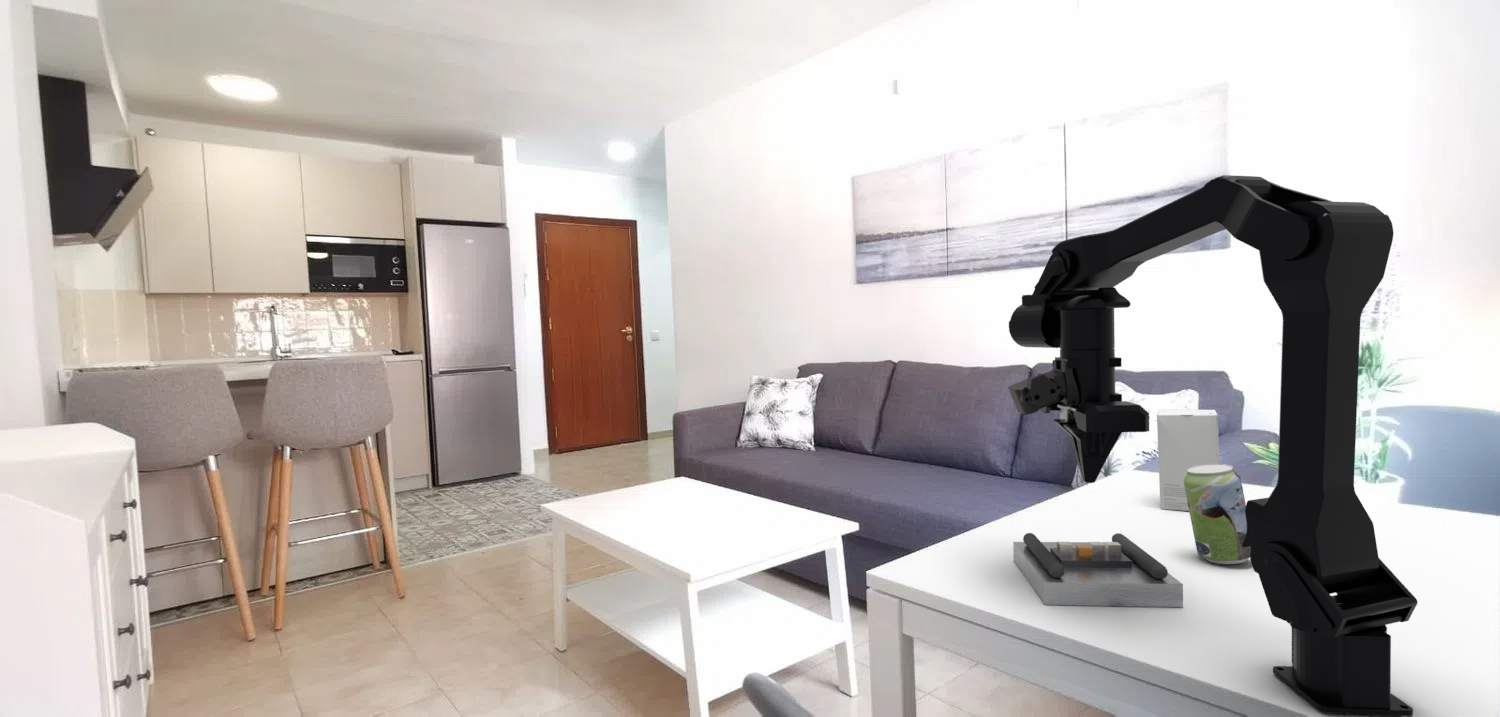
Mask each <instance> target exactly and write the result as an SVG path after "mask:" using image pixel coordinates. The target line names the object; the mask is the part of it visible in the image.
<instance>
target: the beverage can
mask: <svg viewBox="0 0 1500 717" xmlns="http://www.w3.org/2000/svg"><path fill="white" fill-rule="evenodd" d="M1184 486H1185V492H1186V497H1187V502H1188V507H1189V511H1188V512H1189V516H1190V522H1191V526H1192V532H1193V537H1194V543H1195V548H1196V552H1197V554H1198V556H1200V557H1202V558H1203V559H1205V560H1207V561H1208V562H1210V563H1214V564H1219V565H1236V564H1241V563H1245V562H1247V561H1248V560H1250V554H1249V552H1250V547H1243V546H1242V543H1243V541H1244V539H1245V537H1246V532H1247V522H1246V515H1245V508H1246V504H1247V502H1246V499H1245V498H1246V497H1245V494H1244V487H1243V482H1242V478H1241V476H1240V475H1239V474H1238V473H1237V472H1236V471H1235V470H1234V466H1233V465H1230V464H1224V463H1219V464H1206V465H1198V466H1193V467H1190V468H1188V469H1187V474H1186V476H1185V478H1184Z"/></svg>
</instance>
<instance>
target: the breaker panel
mask: <svg viewBox="0 0 1500 717" xmlns="http://www.w3.org/2000/svg"><path fill="white" fill-rule="evenodd" d="M1040 542H1041V543H1042V544H1043V545H1044V546H1045V547H1046V548H1047V549H1048V550H1049V552H1050V553H1051V554H1052V555H1053V556H1054V557H1055V558H1056V559H1057V560H1058V562H1059V563H1060V564H1061V565H1062V566H1063V567H1064V570H1065V572H1064V575H1063V576H1062V577H1060V578H1055V577H1053V576H1052V575H1051V574H1050V573H1049V572H1048V571H1047V570H1046V568H1045V567H1044V566H1043V565H1042V563H1041V562H1040V561H1039V560H1038V559H1037V557H1036V556H1035V555H1034V554H1033V552H1032V551H1031V550H1030V549H1029V548H1028V546H1027V545H1026V544H1025V543H1024V541H1013V542H1012V543H1013V544H1012V547H1013V553H1012V554H1013V562H1014V563H1015V565H1016V566H1017V568H1018V569H1019V570H1020V572H1021V574H1023V577H1024V578H1025V579H1026V580H1027V581H1028V584H1029V585H1030V587H1032V589H1033V590H1034V591H1035V593H1036V594H1037V596H1038V597H1039V599H1040V600H1041V602H1042V603H1043V604H1044V605H1045V606H1085V607H1086V606H1088V607H1089V606H1093V607H1095V606H1096V607H1136V608H1137V607H1143V608H1144V607H1146V608H1147V607H1148V608H1184V587H1183V586H1184V584H1183V583H1182V582H1180V580H1178V579H1177V578H1176V577H1175V576H1173V575H1172V574H1170V573H1169V572H1168V575H1167V577H1166V578H1164V579H1157V578H1155V577H1154V576H1152V575H1151V574H1150V573H1149V572H1147V571H1146V570H1145V569H1144V568H1143V567H1141V566H1140V565H1139V564H1138V563H1136V562H1135V561H1134V560H1133V559H1132V558H1130V557H1129V556H1128V555H1127V554H1125V553H1124V552H1123V551H1122V550H1121V545H1120V544H1119V543H1118V542H1112V541H1104V542H1103V541H1086V542H1084V541H1083V542H1082V541H1080V542H1079V541H1072V542H1071V541H1040Z"/></svg>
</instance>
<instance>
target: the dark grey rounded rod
mask: <svg viewBox="0 0 1500 717" xmlns="http://www.w3.org/2000/svg"><path fill="white" fill-rule="evenodd" d="M1111 542H1118V543H1119V544H1120V545H1121V550H1122V551H1123V552H1124V553H1125V554H1127V555H1128V556H1129V557H1130V558H1132V559H1133V560H1134V561H1135V562H1136V563H1138V564H1139V565H1140V566H1141V567H1143V568H1144V569H1145V570H1146V571H1147V572H1149V573H1150V574H1151V575H1152V576H1154V577H1155V578H1157V579H1164V578H1166V577H1167V575H1168V573H1169V571H1168V569H1167V567H1166V566H1165V565H1164V564H1162V563H1161V562H1160V561H1158V560H1157V559H1156V558H1154V557H1153V556H1152V555H1151V554H1149V553H1148V552H1147V551H1145V550H1143V549H1142V548H1141V547H1140V546H1138V545H1137V544H1136V543H1134V541H1132V540H1131V539H1129V538H1128V537H1127V536H1126V535H1124V534H1123V533H1118V532H1117V533H1114V534H1113V535H1112V537H1111Z"/></svg>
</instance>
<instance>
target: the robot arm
mask: <svg viewBox="0 0 1500 717" xmlns="http://www.w3.org/2000/svg"><path fill="white" fill-rule="evenodd" d="M1225 230H1226V231H1227V232H1228V233H1230V235H1231V236H1232V237H1233V238H1235V239H1236V240H1238V241H1240V242H1241V243H1243V244H1245V245H1248V246H1249V247H1251V248H1254V250H1258V252H1259V259H1260V265H1261V272H1262V279H1263V282H1264V284H1265V285H1266V287H1267V289H1268V291H1269V293H1270V295H1271V296H1272V298H1273V300H1274V302H1275V303H1276V304H1277V306H1278V308H1279V310H1280V313H1281V315H1282V329H1281V330H1282V333H1281V334H1282V336H1281V364H1280V365H1281V367H1280V398H1279V402H1280V403H1279V426H1278V428H1279V431H1278V432H1279V433H1278V457H1277V458H1278V463H1277V480H1276V485H1275V487H1274V489H1273V490H1272V491H1271V493H1270V495H1269V496H1268V497H1263V498H1256V499H1248V500H1247V501H1246V508H1245V515H1246V522H1247V532H1246V537H1245V539H1244V541H1243V543H1242V546H1243V547H1250V552H1249V554H1250V558H1249V560H1250V565H1251V567H1252V569H1253V572H1255V573H1256V574H1258V578H1259V580H1260V583H1261V586H1262V589H1263V592H1264V594H1265V598H1266V600H1267V603H1268V606H1269V610H1270V613H1271V616H1273V617H1275V618H1276V619H1280V620H1282V621H1285V622H1287V624H1289V626H1290V627H1291V665H1292V666H1285V665H1275V666H1273V667H1272V673H1273V674H1274V675H1275V676H1276V677H1277V678H1279V679H1280V680H1281V681H1282V682H1284V683H1285V684H1286V685H1288V686H1289V688H1292V690H1293V691H1295V692H1296V693H1298V694H1299V695H1300V696H1301V697H1302V698H1303V699H1304V700H1306V701H1307V702H1309V704H1310V705H1312V706H1313V707H1314V708H1315V709H1316V710H1318V711H1321V712H1323V713H1328V714H1346V715H1347V714H1348V715H1349V714H1350V715H1351V714H1352V715H1354V714H1355V715H1376V716H1377V715H1379V716H1400V717H1401V716H1406V717H1412V716H1414V708H1413V707H1412V706H1410V705H1409V704H1408V703H1406V702H1405V701H1403V700H1402V699H1400V698H1398V697H1397V696H1396V695H1394V694H1392V693H1391V690H1392V689H1391V687H1392V686H1391V683H1392V682H1391V676H1392V673H1391V671H1392V670H1391V669H1392V667H1391V666H1392V663H1391V662H1392V661H1391V660H1392V658H1391V657H1392V635H1390V634H1389V633H1388V627H1387V625H1391V624H1396V623H1405V622H1408V621H1409V620H1410V618H1411V616H1412V614H1413V612H1414V611H1415V609H1416V607H1417V605H1418V600H1417V598H1416V597H1415V596H1414V595H1413V593H1412V592H1411V591H1409V589H1408V588H1407V587H1406V586H1405V585H1404V584H1403V583H1402V581H1400V579H1399V578H1398V577H1397V576H1396V575H1395V574H1394V572H1392V571H1391V569H1390V568H1389V567H1388V566H1387V565H1386V564H1385V563H1384V562H1383V561H1382V560H1381V559H1380V558H1379V551H1378V545H1377V540H1376V533H1375V528H1374V522H1373V520H1372V519H1371V517H1370V515H1369V514H1368V512H1367V510H1366V509H1365V507H1364V504H1362V502H1361V500H1360V498H1359V496H1358V495H1357V493H1356V490H1355V468H1356V467H1355V466H1356V465H1355V462H1356V439H1357V437H1356V435H1357V434H1356V433H1357V412H1358V411H1357V410H1358V387H1359V367H1360V366H1359V363H1360V361H1359V360H1360V336H1361V317H1362V313H1363V311H1364V309H1365V307H1366V305H1367V304H1368V302H1369V300H1371V297H1372V296H1373V294H1374V293H1375V291H1376V290H1377V288H1378V286H1379V285H1380V284H1381V282H1382V280H1383V279H1384V275H1385V272H1386V268H1387V264H1388V260H1389V256H1390V251H1391V247H1392V244H1393V241H1394V227H1393V222H1392V221H1391V218H1390V217H1389V215H1388V214H1385V213H1384V211H1381V209H1379V208H1378V207H1377V206H1375V205H1372V204H1369V203H1365V202H1364V201H1363V202H1361V201H1360V202H1359V201H1358V202H1357V201H1332V200H1329V199H1326V198H1323V197H1319V196H1316V195H1313V194H1308V193H1304V192H1301V191H1298V190H1294V189H1290V188H1288V187H1284V186H1281V185H1279V184H1276V183H1273V182H1271V181H1269V180H1267V179H1265V178H1263V177H1261V176H1254V175H1252V176H1251V175H1230V174H1229V175H1228V174H1227V175H1225V174H1223V175H1220V176H1217V177H1215V178H1213V179H1211V180H1209V181H1207V182H1206V183H1205V184H1204V185H1203V186H1202V187H1200V188H1198V189H1195V190H1194V191H1192V192H1190V193H1187V194H1186V195H1183V196H1181V197H1179V198H1177V199H1175V200H1173V201H1171V202H1169V203H1166V204H1165V205H1162V206H1161V207H1158V208H1156V209H1154V210H1153V211H1150V212H1148V213H1146V214H1144V215H1142V216H1139V217H1138V218H1136V219H1134V220H1131V221H1129V222H1127V223H1126V224H1123V225H1121V226H1119V227H1117V228H1115V229H1113V230H1109V231H1104V232H1098V233H1092V234H1085V235H1080V236H1076V237H1073V238H1068V239H1065V240H1062V241H1059V242H1058V243H1057V244H1056V245H1054V247H1053V248H1052V250H1051V253H1052V254H1051V255H1050V256H1049V258H1048V260H1047V262H1046V265H1045V267H1044V268H1043V270H1042V273H1041V275H1040V277H1039V280H1038V281H1037V283H1036V285H1035V286H1034V290H1033V292H1032V294H1023V295H1022V296H1021V304H1020V305H1018V307H1016V308H1015V310H1014V311H1013V312H1012V314H1011V316H1010V319H1009V321H1008V332H1009V334H1010V337H1011V338H1012V340H1013V341H1014V343H1016V344H1017V345H1019V346H1021V347H1022V348H1023V347H1024V348H1040V349H1041V348H1044V349H1047V348H1050V349H1051V348H1052V349H1059V356H1058V357H1057V356H1055V357H1054V360H1052V362H1051V363H1052V364H1051V366H1052V370H1050V371H1046V372H1044V373H1037V375H1035V376H1032V377H1030V376H1029V377H1028V378H1026V379H1024V380H1021V381H1018V382H1016V383H1014V384H1013V383H1012V384H1011V385H1009V386H1008V387H1007V389H1008V391H1009V393H1010V396H1011V398H1012V401H1013V403H1014V405H1015V409H1016V410H1017V412H1019V413H1020V412H1021V413H1022V415H1025V416H1026V415H1031V414H1035V413H1037V412H1041V413H1043V414H1050V412H1051V411H1052V412H1053V411H1057V412H1058V411H1059V418H1058V419H1057V418H1056V419H1052V421H1053V422H1054V424H1055V425H1057V426H1059V427H1060V428H1061V429H1062V431H1064V432H1065V433H1066V434H1067V436H1068V437H1069V439H1070V442H1071V445H1072V449H1073V452H1074V455H1075V459H1076V462H1077V465H1078V468H1079V472H1080V476H1081V479H1082V481H1083V482H1085V483H1087V484H1093V483H1096V480H1097V479H1098V477H1099V475H1100V474H1101V471H1102V470H1103V467H1104V466H1105V463H1106V462H1107V459H1108V457H1109V456H1110V454H1111V452H1112V451H1113V449H1114V448H1115V445H1116V444H1117V442H1118V440H1119V438H1120V437H1121V434H1122V433H1145V432H1150V413H1149V412H1148V411H1147V410H1146V409H1145V408H1144V407H1143V406H1141V405H1140V404H1137V403H1134V402H1131V401H1127V400H1126V401H1123V394H1122V393H1118V392H1116V368H1120V367H1121V368H1122V357H1117V356H1116V354H1115V352H1116V350H1115V346H1116V345H1115V341H1116V340H1115V309H1121V308H1122V309H1124V308H1125V309H1126V308H1130V307H1131V301H1130V300H1129V299H1127V297H1125V296H1124V295H1121V293H1120V292H1119V291H1118V290H1117V288H1116V286H1118V285H1120V284H1121V283H1122V282H1124V281H1125V280H1127V279H1129V278H1131V277H1132V276H1133V275H1134V273H1136V270H1137V269H1138V267H1140V266H1142V265H1143V264H1144V263H1146V262H1148V261H1151V260H1153V259H1156V258H1157V257H1161V256H1162V255H1165V254H1167V253H1170V252H1173V251H1176V250H1178V249H1179V248H1183V247H1185V246H1187V245H1190V244H1193V243H1195V242H1197V241H1201V240H1202V239H1205V238H1207V237H1210V236H1212V235H1214V234H1217V233H1219V232H1223V231H1225ZM1331 594H1335V595H1331Z"/></svg>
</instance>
